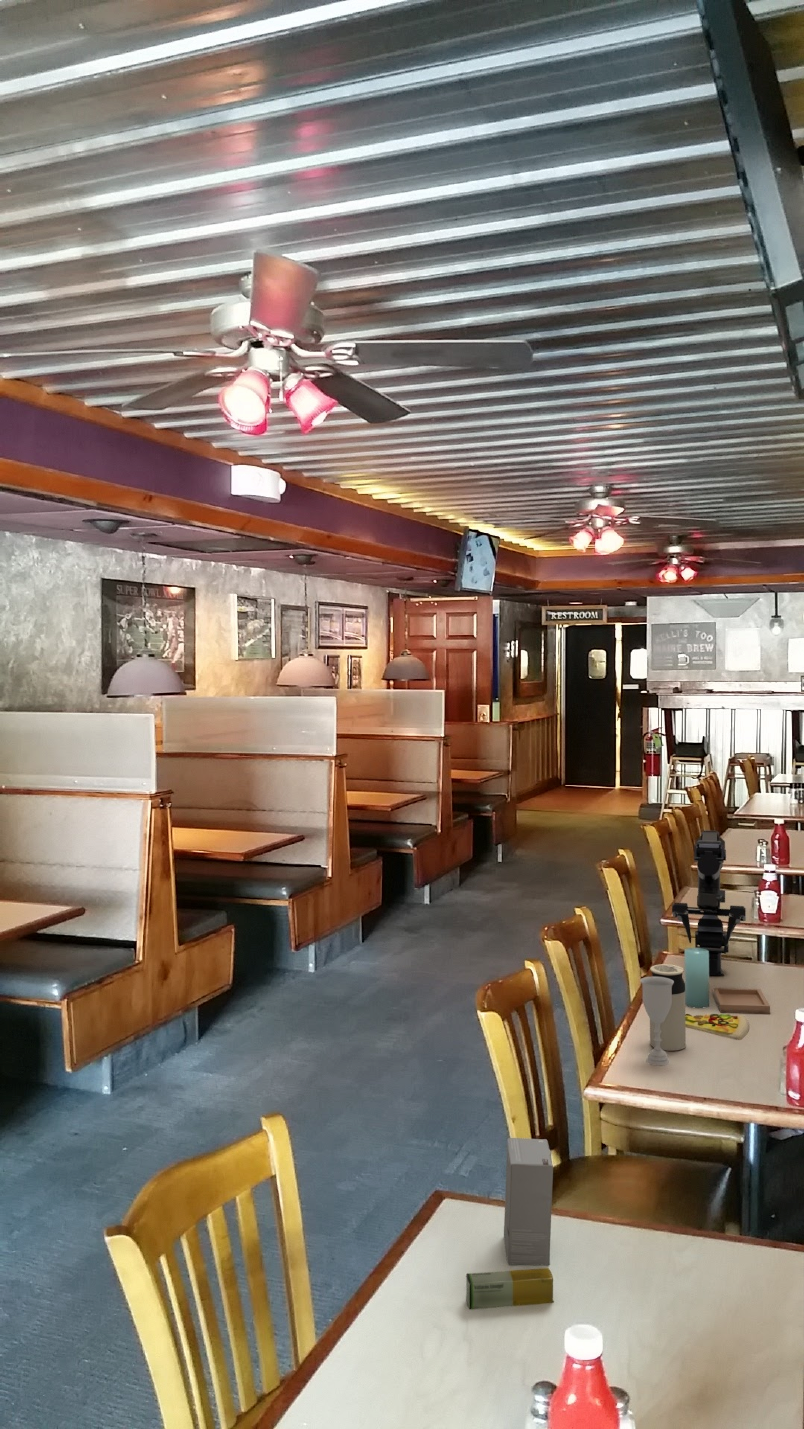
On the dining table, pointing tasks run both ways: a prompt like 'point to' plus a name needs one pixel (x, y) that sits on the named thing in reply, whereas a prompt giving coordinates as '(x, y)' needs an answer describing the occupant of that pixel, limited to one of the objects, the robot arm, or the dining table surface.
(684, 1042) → the travel mug
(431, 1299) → the dining table surface
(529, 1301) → the medication box
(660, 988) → the chalice
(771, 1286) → the dining table surface
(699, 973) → the teal rounded cylinder
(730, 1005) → the tray
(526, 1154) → the skincare box
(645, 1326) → the dining table surface
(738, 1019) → the pizza slice
